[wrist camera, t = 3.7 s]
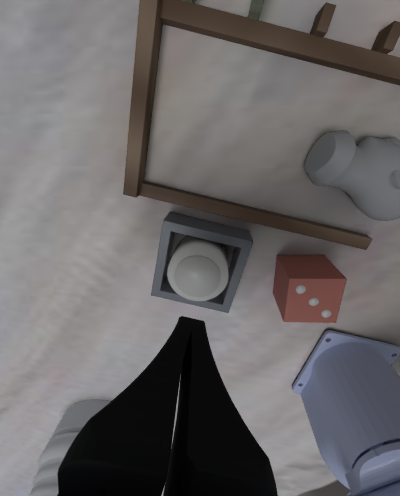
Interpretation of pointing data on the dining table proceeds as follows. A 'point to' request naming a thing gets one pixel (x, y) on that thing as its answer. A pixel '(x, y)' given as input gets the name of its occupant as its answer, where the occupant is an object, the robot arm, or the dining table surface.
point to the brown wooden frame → (258, 36)
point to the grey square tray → (208, 232)
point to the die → (308, 288)
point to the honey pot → (62, 445)
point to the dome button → (198, 269)
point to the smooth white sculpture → (359, 171)
